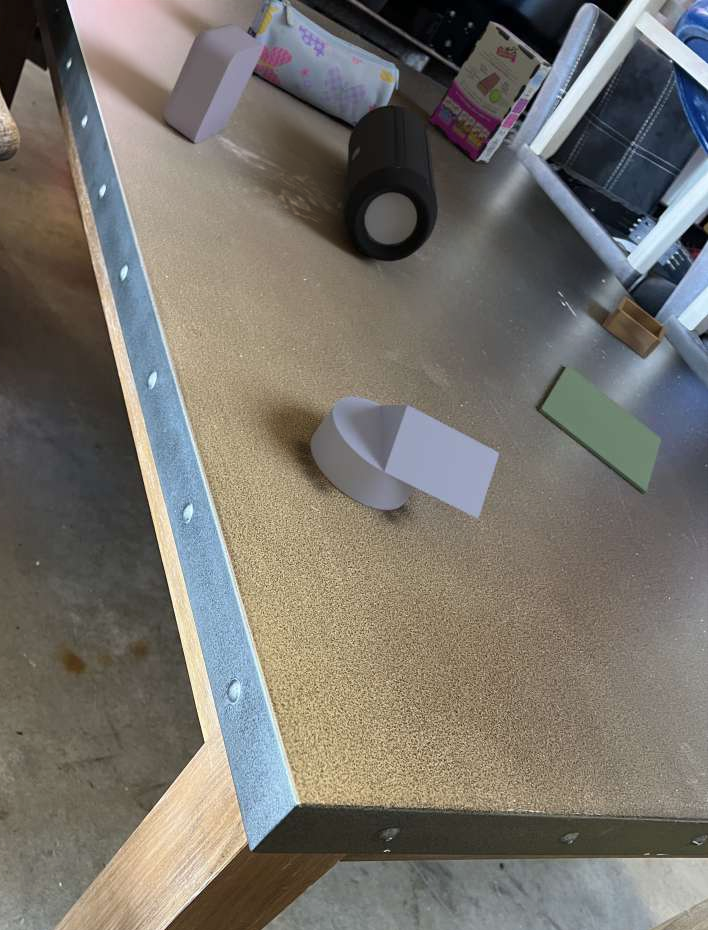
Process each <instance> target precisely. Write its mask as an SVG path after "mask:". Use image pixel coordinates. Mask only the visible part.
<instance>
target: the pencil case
mask: <svg viewBox="0 0 708 930" xmlns="http://www.w3.org/2000/svg"><path fill="white" fill-rule="evenodd" d="M246 33H248V34H249V35H250V36H252V37H253V38H255V39H256V40H257V41H259V42H260V43H261V44H263V50H262V53H261V55H260V58H259V60H258V62H257V64H256V66H255V68H254V70H253V72H252V73H255V74H256V75H258V76H259V77H261V78H263V80H266V81H268V82H269V83H271V84H273V85H275V86H277V87H279V88H281V89H282V90H284V91H286V92H287V93H289V94H291V95H293V96H294V97H296V98H298V99H300V100H301V101H304V102H306V103H308V104H309V105H312V106H313V107H315V108H317V109H319V110H320V111H322V112H324V113H325V114H328V115H331V116H333V117H336V118H339V119H340V120H341V119H342V120H343V121H344V122H346V123H347V124H350V125H351V126H352V127H353V128H354V127H355V126H356V124H357V123H358V122H359V120H360V119H361V118H362V117H363V116H364V115H366V114H367V113H368V112H370V111H372V110H374V109H376V108H378V107H382V106H388V105H389V102H390V99H391V98H392V94H393V92H394V89H395V90H398V89H399V78H400V71H399V69H398V68H397V66H396V65H395V63H393V62H390V61H388V60H385V59H383V58H381V57H380V56H378V55H376V54H374V53H372V52H369V51H367V50H365V49H363V48H361V47H359V46H357V45H355V44H353V43H351V42H348V41H346V40H344V39H342V38H339V37H338V36H335V35H333V34H332V33H330V32H328V31H327V30H325V29H324V28H323V27H322V26H320V25H318V24H316V23H315V22H314V21H312V20H311V19H309V18H308V17H306V16H305V15H304V14H303V13H301V12H300V11H299V10H297V8H295V7H293V6H292V5H291V2H290V0H262V1H261V4H260V6H259V8H258V9H257V11H256V13H255V16H254V17H253V20H252V23H251V25H250V26H249V27H248V29H247V31H246Z"/></svg>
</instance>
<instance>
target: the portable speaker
mask: <svg viewBox="0 0 708 930" xmlns="http://www.w3.org/2000/svg"><path fill="white" fill-rule="evenodd" d="M347 145H348V147H347V171H346V185H345V186H346V187H345V189H346V190H345V205H344V210H343V211H344V213H343V220H344V221H343V222H344V228H345V230H346V234H347V235H348V238H349V239H350V241H351V243H352V244H353V245H354V246H355V247H356V249H357V250H358V251H359V252H360V253H362V254H364V255H366V256H368V257H370V258H372V259H374V260H377V261H380V262H397V261H401V260H404V259H406V258H408V257H410V256H412V255H413V254H415V253H416V252H417V251H418V250H419V249H421V248H422V247H423V246H424V245H425V243H426V242H427V241H428V240H429V238H430V237H431V235H432V233H433V231H434V230H435V226H436V224H437V221H438V208H439V207H438V197H437V190H436V180H435V173H434V165H433V157H432V156H433V155H432V150H431V142H430V135H429V133H428V130H427V127H426V125H425V124H424V122H423V120H422V119H421V118H420V116H419V115H418V114H416V113H415V112H413V111H412V109H411V110H410V109H409V108H406V107H404V106H399V105H394V104H393V105H391V104H387V106H382V107H378V108H376V109H374V110H372V111H370V112H368V113H367V114H366V115H364V116H363V117H362V118H361V119H360V120H359V122H358V123H357V124H356V126H355V127H354V126H353V129H352V131H351V134H350V136H349V140H348V144H347Z"/></svg>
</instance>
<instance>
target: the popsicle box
mask: <svg viewBox="0 0 708 930" xmlns="http://www.w3.org/2000/svg"><path fill="white" fill-rule="evenodd" d="M553 67H554V66H553V65H552V64H551V63H549V62H548V61H547V60H546V59H545V58H543V57H542V56H541V55H540V54H539V53H537V52H536V51H535V50H533V49H532V48H531V46H528V45H527V44H526V43H525V42H524V41H523V40H521V38H519V37H518V36H517V35H515V34H514V33H512V32H511V31H510V30H509V29H508V28H506V27H505V26H504V25H503V24H500V23H498V22H494V21H491V20H490V21H488V23H487V25H486V27H485V28H484V30H483V31H482V33H481V35H480V36H479V37H478V40H477V41H476V43H475V44H474V46H473V48H472V49H471V51H470V53H469V54H468V56H467V58H466V59H465V61H464V62H463V64H462V66H461V67H460V69H459V70H458V72H457V74H456V75H455V77H454V79H453V80H452V82H451V84H450V85H449V87H448V88H447V90H446V91H445V93H444V95H443V96H442V98H441V100H440V101H439V103H438V105H437V106H436V107H435V109H434V110H433V112H432V114H431V115H430V117H429V119H428V122H429V123H430V124H431V125H433V127H435V129H436V130H438V131H439V132H440V133H441V134H443V136H445V137H446V138H447V139H448V140H449V141H450V142H451V143H453V144H454V145H455V146H456V147H457V148H458V149H459V150H460V151H462V152H463V153H464V154H465V155H466V156H467V157H468V158H470V159H471V160H472V161H473V162H475V163H480V164H488V163H489V162H490V160H491V159H492V158H493V156H494V155H495V153H496V152H497V150H498V149H499V147H500V146H501V145H502V143H503V141H505V139H506V137H507V135H508V134H509V133H510V131H511V130H512V128H513V127H514V126H515V124H516V123H517V121H518V120H519V118H520V116H521V115H522V113H523V112H524V111H525V110H526V108H527V106H528V105H529V104H530V102H531V100H532V99H533V98H534V96H535V94H536V93H537V91H538V90H539V89H540V87H541V85H542V84H543V83H544V81H545V80H546V78H547V77H548V75H549V74H550V73H551V71H552V69H553Z"/></svg>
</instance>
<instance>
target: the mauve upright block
mask: <svg viewBox="0 0 708 930" xmlns="http://www.w3.org/2000/svg"><path fill="white" fill-rule="evenodd" d="M262 50H263V44H261V43H260V42H259V41H257V40H256V39H255V38H253V37H252V36H250V35H249V34H248V33H247V31H245V30H244V29H242V28H241V27H239V26H238V25H237V24H234V23H229V24H224V25H220V26H217V27H212V28H207V29H204V30H202V31H200V32H199V33H198V34H197V35H196V36H195V38H194V40H193V41H192V44H191V47H190V48H189V51H188V54H187V56H186V58H185V61H184V63H183V65H182V67H181V69H180V72H179V75H178V77H177V79H176V81H175V84H174V86H173V88H172V90H171V93H170V95H169V98H168V100H167V102H166V105H165V107H164V111H163V116H164V118H165V122H166V123H167V124H168V125H169V126H171V127H172V128H173V129H175V130H176V131H178V132H179V133H180V134H182V135H183V136H184V137H186V138H187V139H189V140H190V141H192V142H193V143H194V144H198V143H200V142H202V141H204V140H206V139H208V138H210V137H212V136H214V135H217V134H219V133H221V132H222V131H223V130H224V129H225V128H226V127H227V125H228V124H229V122H230V120H231V118H232V116H233V114H234V111H235V109H236V108H237V105H238V104H239V102H240V99H241V97H242V95H243V93H244V91H245V89H246V87H247V85H248V82H249V80H250V79H251V77H252V74H253V73H254V72H253V70H254V68H255V66H256V64H257V62H258V60H259V58H260V55H261V53H262Z"/></svg>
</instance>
